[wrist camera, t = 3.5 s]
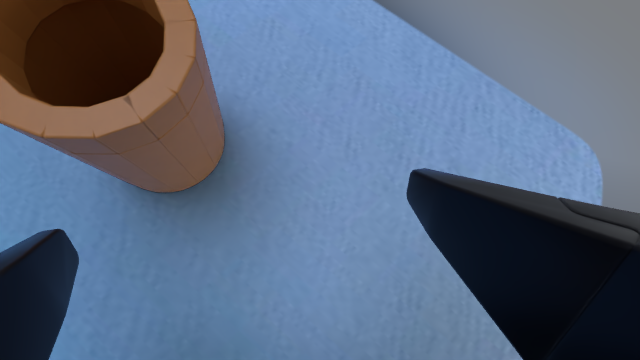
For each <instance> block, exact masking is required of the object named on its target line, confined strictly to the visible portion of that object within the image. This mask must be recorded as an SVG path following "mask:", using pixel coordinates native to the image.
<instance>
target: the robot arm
mask: <svg viewBox="0 0 640 360" xmlns="http://www.w3.org/2000/svg"><path fill="white" fill-rule="evenodd" d="M407 199H408V202H409V204H410V205H411V207H412V209H413V211H414V212H415V214H416V216H417V217H418V219H419V221H420V222H421V224H422V226H423V227H424V229H425V231H426V232H427V234H428V235H429V237H430V238H431V240H432V241H433V242H434V244H435V245H436V246H437V248H438V249H439V250H440V252H441V253H442V254H443V256H444V257H445V258H446V259H447V261H448V262H449V263H450V265H451V266H452V267H453V269H454V270H455V271H456V273H457V274H458V275H459V276H460V278H461V279H462V280H463V282H464V283H465V284H466V286H467V287H468V288H469V289H470V291H471V292H472V293H473V295H474V296H475V297H476V299H477V300H478V301H479V303H480V304H481V305H482V306H483V308H484V309H485V310H486V312H487V313H488V314H489V316H490V317H491V318H492V320H493V321H494V322H495V323H496V325H497V326H498V327H499V329H500V330H501V331H502V333H503V334H504V335H505V336H506V338H507V339H508V340H509V342H510V343H511V344H512V346H513V347H514V348H515V350H516V351H517V352H518V353H519V355H520V356H521V357H522V359H523V360H640V213H635V212H629V211H624V210H619V209H614V208H608V207H603V206H599V205H594V204H589V203H584V202H579V201H575V200H570V199H565V198H561V197H560V198H557V197H554V196H549V195H545V194H540V193H536V192H531V191H527V190H522V189H517V188H513V187H508V186H504V185H499V184H495V183H490V182H485V181H481V180H476V179H472V178H467V177H463V176H458V175H453V174H449V173H444V172H440V171H435V170H431V169H426V168H423V169H417V170H413V171H412V172H411V173H410V177H409V183H408V188H407ZM78 264H79V257H78V253H77V251H76V249H75V248H74V246H73V245H72V243H71V241H70V240H69V238H68V236H67V235H66V233H65V232H64V231H63V230H61V229H53V230H47V231H42V232H39V233H37V234H35V235H33V236H31V237H29V238H27V239H26V240H24V241H22V242H20V243H18V244H16V245H14V246H12V247H10V248H9V249H7V250H5V251H3V252H1V253H0V360H48V359H49V357H50V354H51V352H52V349H53V347H54V344H55V342H56V339H57V336H58V334H59V331H60V329H61V326H62V324H63V321H64V318H65V315H66V312H67V308H68V305H69V301H70V297H71V293H72V288H73V284H74V280H75V276H76V272H77V268H78Z"/></svg>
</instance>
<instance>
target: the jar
mask: <svg viewBox="0 0 640 360" xmlns="http://www.w3.org/2000/svg"><path fill="white" fill-rule="evenodd" d="M0 123H1V124H3V125H6V126H8V127H10V128H12V129H14V130H16V131H18V132H20V133H23V134H25V135H27V136H29V137H31V138H33V139H35V140H37V141H39V142H42V143H44V144H46V145H48V146H50V147H52V148H54V149H56V150H59V151H61V152H63V153H65V154H67V155H69V156H71V157H74V158H76V159H78V160H80V161H82V162H84V163H86V164H89V165H91V166H93V167H95V168H97V169H99V170H101V171H103V172H106V173H108V174H110V175H112V176H114V177H116V178H118V179H121V180H123V181H125V182H127V183H130V184H132V185H135V186H137V187H140V188H142V189H145V190H148V191H153V192H164V193H167V192H176V191H181V190H184V189H187V188H190V187H192V186H194V185H196V184H198V183H199V182H201V181H202V180H203V179H205V178H206V177H207V176H208V175H209V174H210V173H211V172H212V171H213V170H214V168H215V167H216V166H217V164H218V162H219V160H220V158H221V155H222V153H223V149H224V141H225V136H224V125H223V120H222V117H221V113H220V109H219V105H218V101H217V97H216V93H215V90H214V86H213V82H212V78H211V74H210V70H209V66H208V63H207V59H206V55H205V51H204V48H203V44H202V40H201V36H200V32H199V28H198V25H197V21H196V18H195V15H194V13H193V11H192V9H191V6H190V4H189V2H188V0H0Z"/></svg>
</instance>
